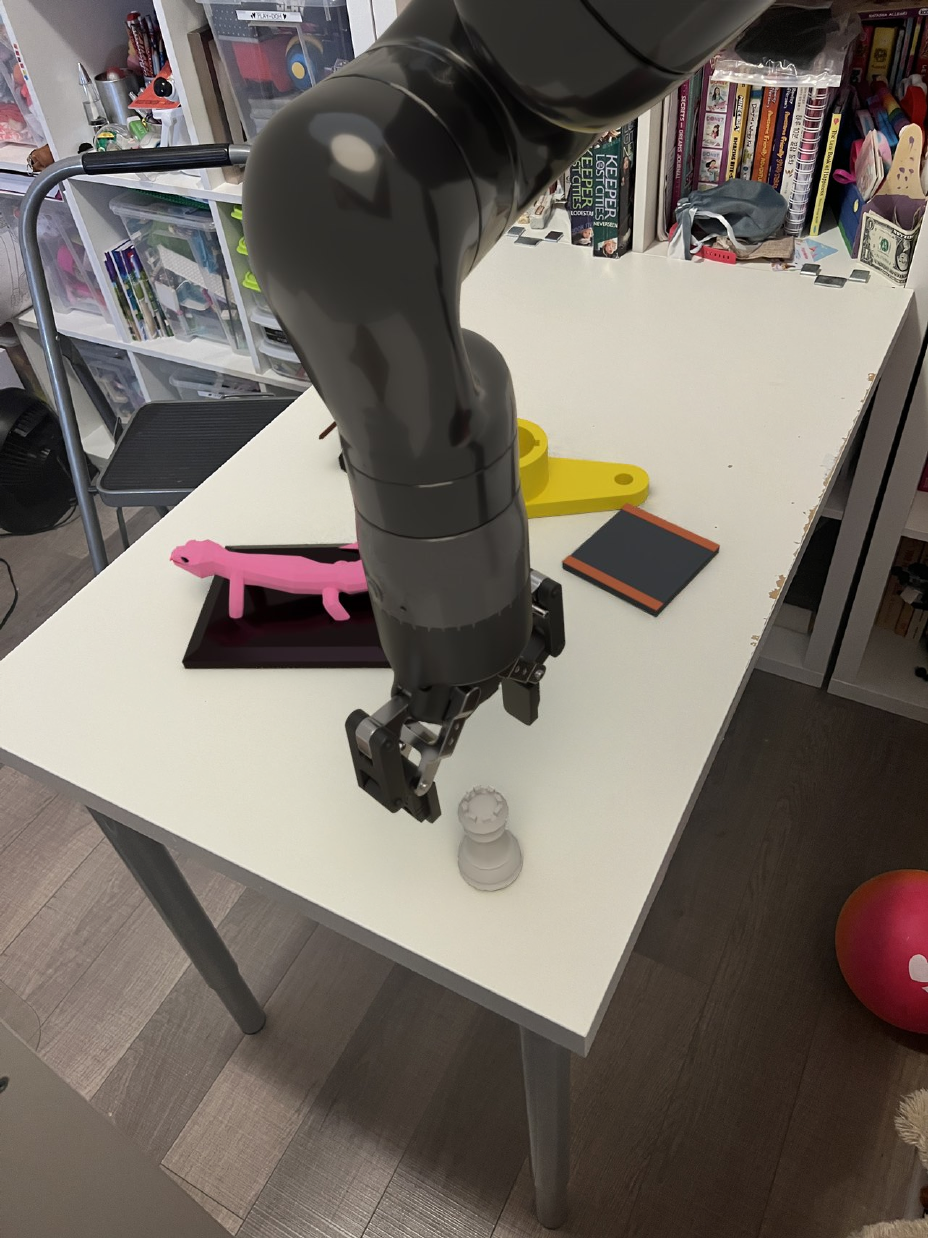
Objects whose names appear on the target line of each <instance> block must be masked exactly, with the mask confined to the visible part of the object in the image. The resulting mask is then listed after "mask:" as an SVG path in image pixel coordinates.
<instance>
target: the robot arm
mask: <svg viewBox="0 0 928 1238" xmlns="http://www.w3.org/2000/svg"><path fill="white" fill-rule="evenodd" d="M777 1H778V0H409V2H408V4H407V5H405V7H404V8H403V10H401V12H400V13H399V14H398V16H397V17H396V18H395V19H394V20H393V21H392V22H391V24H389V26H388V27H387V28H386V29H385V30H384V31H383V33H382V34H381V35H380V36H379V37H377V39H376V40H375V41H373V43H372V44H371V45H370V46H369V47H368V48H367V49H366V50H365V51H364V52H362V53H360V54H359V55H357V56H356V57H354V58H353V59H352V60H351V61H350V62H348V63H346V64H345V65H343V66H342V67H340V68H339V69H337V70H336V71H334V72H332V73H331V74H330V75H328V76H326V77H325V78H323V79H322V80H321V81H319V82H317V83H316V84H314V85H312V87H309V88H308V89H307V90H304V91H303V92H302V93H300V94H299V95H297V96H296V97H295V98H293V99H291V100H290V101H288V102H287V103H286V104H285V105H283V106H282V107H281V108H278V110H276V112H274V114H272V115H271V116H270V117H269V119H268V120H267V122H266V123H265V124H264V125H263V126H262V128H261V129H260V130H259V132H258V133H257V135H256V137H255V138H254V139H253V143H252V145H251V147H250V150H249V152H248V155H247V158H246V162H245V168H244V172H243V178H242V184H241V185H242V187H241V219H242V220H241V221H242V222H241V223H242V229H243V231H242V232H243V239H244V245H245V249H246V254H247V257H248V261H249V264H250V269H251V270H252V273H253V276H254V279H255V281H256V284H257V287H258V288H259V291H260V292H261V295H262V297H263V299H264V301H265V302H266V305H267V307H268V308H269V310H270V311H271V313H272V315H273V317H274V319H275V321H276V322H277V324H278V326H279V328H280V330H281V331H282V333H283V335H284V336H285V338H286V340H287V342H288V343H289V345H290V346H291V349H292V350H293V352H294V354H295V355H296V357H297V359H298V360H299V362H300V365H301V366H302V368H303V370H304V372H305V373H306V376H307V377H308V378H309V381H310V383H311V384H312V386H313V388H314V389H315V391H316V393H317V394H318V396H319V397H320V400H322V403H324V405H325V407H326V409H327V410H328V412H329V413H330V416H332V419H333V421H335V422H336V424H337V426H336V428H337V433H338V439H339V445H340V448H341V452H342V454H343V458H344V462H345V467H346V471H347V473H346V475H347V480H348V484H349V488H350V492H351V497H352V502H353V508H354V520H355V521H354V522H355V536H356V542H357V543H358V549H359V553H360V557H361V561H362V565H363V570H364V574H365V578H366V582H367V587H368V591H369V596H370V600H371V604H372V608H373V612H374V617H375V621H376V625H377V629H378V634H379V638H380V642H381V645H382V648H383V650H384V653H385V655H386V657H387V659H388V661H389V663H390V665H391V667H392V668H391V669H392V671H393V681H392V685H391V690H390V699H389V700H388V701H387V702H386V703H384V705H382V706H381V707H380V708H378V709H377V710H376V711H375V712H373V713H372V714H371V715H370V714H369V713H368V712H366V711H365V710H363V709H362V708H356V709H354V710H353V711H352V712H350V713H349V715H348V716H347V717H346V719H345V721H344V722H345V723H344V730H345V734H346V737H347V743H348V747H349V751H350V756H351V760H352V764H353V769H354V774H355V779H356V782H357V786H358V788H360V789H361V790H363V791H364V792H365V793H366V794H368V795H369V796H370V797H371V798H373V799H374V800H375V801H376V802H377V803H378V804H380V805H381V806H382V807H384V809H386V810H387V811H389V812H390V813H391V814H396V813H398V812H399V811H401V809H402V810H404V811H405V812H406V813H407V814H408V815H410V816H411V817H412V818H413V819H415V820H416V821H417V822H419V823H421V824H422V823H424V822H425V820H426V821H427V822H428V823H429V824H432V825H433V824H434V823H435V822H436V821H437V820H438V819H439V818H440V817H441V816H442V815H443V814H442V808H441V804H440V798H439V795H438V794H439V793H438V789H437V784H436V782H435V781H434V779H435V777H436V775H437V772H438V770H439V768H440V764H441V763H442V760H444V759H446V758H450V757H452V756H453V754H454V752H455V750H456V747H457V744H458V742H459V739H460V738H461V737H460V736H461V734H462V731H463V730H464V727H465V723H466V721H467V720H468V719H470V718H471V716H472V715H473V714H474V713H475V712H476V710H477V709H478V707H480V705H481V704H483V703H485V702H486V701H487V700H489V699H490V698H492V696H493V695H495V693H496V692H498V691H499V689H500V687H499V686H501V695H502V696H501V697H502V698H501V699H502V706H503V709H504V711H505V712H506V713H507V714H508V715H510V716H512V717H513V718H515V719H516V720H517V721H519V722H520V723H522V724H524V725H525V726H527V727H531V726H532V725H533V724H534V723H535V722H536V721H537V720H538V719H539V706H540V702H541V683H540V682H541V681H542V680H543V678H544V677H545V674H546V672H547V666H546V665H545V662H546V661H547V660H548V658H549V657H550V656H551V657H552V658H554V659H556V658H558V657H559V656H560V655H561V654H562V653H563V651H564V649H565V647H566V643H567V642H566V630H565V629H566V627H565V613H564V598H563V585H562V584H561V583H560V582H558V581H556V580H554V579H552V578H551V577H549V576H547V575H546V574H544V573H542V572H540V571H539V570H537V569H534V568H532V567H531V551H530V549H531V548H530V528H529V527H530V526H529V518H528V516H527V510H526V505H525V500H524V496H523V492H522V487H521V479H520V461H519V441H518V423H517V418H518V408H517V400H516V399H517V398H516V393H515V389H514V382H513V377H512V373H511V370H510V368H509V365H508V363H507V362H506V359H505V358H504V355H503V354H502V352H501V351H500V350H499V349H498V348H497V347H496V345H494V344H493V343H492V342H490V341H489V340H488V339H487V338H486V337H484V336H483V335H481V334H479V333H477V332H475V331H474V330H470V329H468V328H465V327H462V325H461V295H462V294H461V292H462V284H463V283H464V281H465V280H466V279H467V278H468V277H469V276H470V274H472V272H473V271H474V270H475V268H477V266H478V265H479V264H480V263H481V261H483V259H484V258H485V257H486V256H487V255H488V253H489V252H490V251H491V250H492V249H493V248H494V247H495V245H497V243H498V242H499V241H500V239H501V238H502V237H503V236H504V235H505V234H506V233H507V232H508V231H509V230H510V229H511V228H512V227H513V226H514V225H515V224H516V222H517V221H518V220H520V219H521V217H522V216H523V215H524V214H525V213H526V212H527V211H528V210H529V209H530V208H531V207H532V206H533V205H534V204H535V203H536V202H537V201H538V199H540V198H541V197H542V196H543V194H545V192H546V191H547V190H548V189H550V188H551V186H552V185H554V184H555V183H556V182H557V181H558V179H560V178H561V177H562V176H563V175H564V174H565V173H566V172H567V171H568V170H570V168H571V167H573V165H574V164H576V162H578V161H579V160H580V158H582V157H583V156H584V155H585V154H586V153H587V152H588V151H589V150H590V149H591V148H592V147H593V146H594V145H595V144H596V143H597V142H598V141H599V140H600V139H601V138H602V137H603V136H604V135H605V134H606V133H608V132H611V131H615V130H617V129H620V128H622V127H624V126H626V125H628V124H630V123H632V122H633V121H635V120H636V119H638V118H639V117H641V116H642V115H644V114H645V113H647V112H648V111H649V110H651V109H653V108H654V107H656V105H658V104H659V103H661V102H662V101H663V100H665V99H666V98H668V96H670V95H671V94H672V93H673V92H674V91H676V90H677V89H678V88H679V87H680V86H681V85H683V84H684V83H685V82H686V81H688V80H689V79H690V78H691V77H693V76H694V75H695V73H696V72H697V71H698V70H700V69H701V68H703V67H704V66H705V65H706V64H707V63H709V62H710V60H712V59H713V58H714V57H715V56H716V55H718V53H720V51H722V50H723V49H724V48H725V47H726V46H727V45H728V44H730V43H731V42H732V41H733V40H734V39H736V37H737V36H739V35H740V34H741V33H742V32H743V31H744V30H745V29H747V28H748V27H749V26H750V25H751V24H752V23H753V22H754V21H755V20H756V19H758V18H759V17H760V16H761V15H762V14H764V12H766V10H768V9H769V8H770V7H772V5H773V4H775V3H776V2H777ZM422 723H425V724H431V725H435V726H441V727H440V730H439V732H438V735H437V734H436V733H435V732H433V731H432V730H430V729H429V728H427V727H426V726H425V725H423V724H422ZM412 749H415V750H416V751H417V752H418V753H419V755H420V761H419V763H418V765H417V764H415V763H414V762H413V761H412V760H410V759H409V757H410V754H411V752H412Z"/></svg>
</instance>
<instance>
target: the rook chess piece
mask: <svg viewBox="0 0 928 1238" xmlns="http://www.w3.org/2000/svg"><path fill="white" fill-rule="evenodd" d="M472 788H473V790H471V791H466V792H465V793H464V795H463V797H462V799H460V801H459V802H458V806H457V812H456V814H457V818H458V821H459V823H460V824H461V825H462V827H463V830H464V833H465V835H464V837H463V839H462V840H461V842H460V844H459V846H458V852H457V859H458V860H457V864H458V868H459V873H460V875H461V876H462V878H463V879H464V880H465V881H466V883H467V884H468V885H470V886H472V887H474V888H476V889H478V890H480V891H481V890H482V891H488V892H489V891H490V892H493V891H498V890H501V889H505V888H506V887H508V886H509V885H510V884H512V883H513V882H514V881H516V879H517V878H518V876H519V875H520V873H521V871H522V868H523V861H524V860H523V858H524V857H523V853H522V849H521V846H520V842H519V840H518V839H517V838H516V836H515V835H514V834H513V833H512V832H511V831H510V830H509V829H507V823H508V821H507V820H508V817H509V811H510V808H509V804H508V801H507V799H506V798H505V797H504V796H503V795H502V793H500V792H499V791H496V788H494V787H492V786H490V785H488V786H487V787H486V788H484V787H482V785H475V786H473V787H472Z"/></svg>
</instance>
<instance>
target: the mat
mask: <svg viewBox="0 0 928 1238" xmlns="http://www.w3.org/2000/svg"><path fill="white" fill-rule="evenodd" d="M720 547H721V544H719V543H716V542H715V541H712V540H710V539H708V538H705V537H704V536H701V535H699V534H697V533H695V532H692V531H690V530H688V529H686V528H683V527H681V526H679V525H677V524H675V523H673V522H670V521H669V520H666V519H663V518H662V517H659V516H657V515H655V514H653V513H651V512H649V511H646V510H644V509H642V508H640V507H638V506H636V507H635V506H633V505H631V504H629V503H626V504H625V505H624V506H623V507H622V508H621V509H619V510H618V511H617V512H616V513H615V514H614V515H612V517H610V519H608V520H607V521H606V522H605V523H604V524H603V525H602V526H601V527H600V528H599V529H597V530H596V531H595V532H593V534H592V535H590V537H588V538H587V539H586V540H585V541H584V542H583V543H582V544H581V545H579V546H578V547H577V548H576V549H575V550H574V551H573V552H572V553H570V554H568V555H567V556H566V557H565V558H564V559H562V561H561V563H562V564H561V566H562V569H563V570H565V571H566V572H569V573H571V574H572V575H574V576H576V577H578V578H580V579H582V580H584V581H586V582H587V583H590V584H591V585H594V586H595V587H597V588H600V589H601V590H602V591H603V590H604V591H605V592H607V593H609V594H611V595H613V596H615V597H616V598H618V599H621V600H622V601H624V602H626V603H628V604H630V605H632V606H633V607H635V608H638V609H639V610H641V611H643V612H645V613H647V614H649V615H651V616H653V617H655V618H657V617H658V615H660V614H661V613H662V611H664V609H666V607H668V605H669V604H670V603H671V602H672V601H673V600H674V599H675V598H676V597H677V596H678V595H679V594H680V593H681V592H682V591H683V590H684V589H685V588H686V587H687V586H688V585H689V584H690V583H691V582H692V581H693V580H694V578H696V577H697V576H698V574H700V573H701V571H702V570H703V569H705V568H706V566H707V565H708V564H709V563H710V562H711V561H712V560H713V559H714V558H715V557H716V556H717V555H718V554H719V553H720Z"/></svg>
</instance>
